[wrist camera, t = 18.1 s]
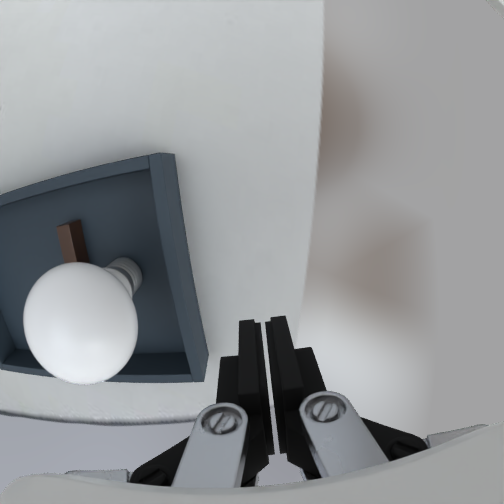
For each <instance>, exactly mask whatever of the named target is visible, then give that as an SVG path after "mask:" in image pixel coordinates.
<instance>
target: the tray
mask: <svg viewBox="0 0 504 504" xmlns="http://www.w3.org/2000/svg"><path fill="white" fill-rule="evenodd" d="M78 219H80V220H81V225H82V230H83V235H84V239H85V244H86V249H87V253H88V257H89V261H90V264H93V265H96V266H99V267H101V268H104V267H107V266H108V265H109V264H110V263H111V262H112V261H114V260H115V259H117V258H121V257H125V258H129V259H131V260H133V261H134V262H135V263H136V264H137V265H138V266H139V268H140V269H141V272H142V283H141V286H140V287H139V289H138V290H137V291H136V292H135V294H134V295H133V298H132V300H133V303H134V306H135V309H136V313H137V318H138V337H137V342H136V346H135V349H134V351H133V354H132V356H131V358H130V359H129V361H128V362H127V364H126V365H125V366H124V367H123V368H122V369H121V370H120V371H119V372H118V373H117V374H116V375H114V376H113V377H111V378H109V379H108V380H105V381H106V382H131V383H182V382H193V381H194V382H204V379H205V373H206V367H207V361H208V356H209V354H208V349H207V345H206V340H205V335H204V331H203V326H202V321H201V316H200V311H199V306H198V301H197V296H196V290H195V285H194V280H193V274H192V268H191V263H190V257H189V251H188V245H187V239H186V233H185V226H184V220H183V213H182V207H181V200H180V193H179V185H178V178H177V170H176V162H175V154H169V153H156V154H151V155H146V156H141V157H136V158H131V159H126V160H122V161H117V162H113V163H108V164H104V165H100V166H96V167H92V168H88V169H84V170H80V171H76V172H73V173H69V174H65V175H62V176H58V177H55V178H51V179H48V180H45V181H41V182H38V183H35V184H32V185H29V186H25V187H22V188H19V189H16V190H14V191H11V192H8V193H5V194H2V195H0V369H1V370H7V371H13V372H19V373H25V374H32V375H40V376H47V377H55V376H53V375H52V374H50V373H49V372H48V371H47V370H46V369H44V368H43V367H42V366H41V365H40V363H39V362H38V361H37V360H36V358H35V357H34V355H33V354H32V352H31V350H30V348H29V346H28V343H27V340H26V337H25V333H24V326H23V313H24V306H25V302H26V299H27V297H28V294H29V292H30V290H31V288H32V287H33V285H34V284H35V283H36V281H37V280H38V279H39V278H40V277H41V276H42V275H43V274H44V273H46V272H47V271H48V270H50V269H52V268H54V267H56V266H58V265H61V264H65V263H64V259H63V255H62V251H61V247H60V242H59V238H58V233H57V228H56V227H57V226H59V225H61V224H64V223H66V222H68V221H73V220H78ZM56 378H57V377H56Z"/></svg>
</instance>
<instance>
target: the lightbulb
mask: <svg viewBox="0 0 504 504" xmlns="http://www.w3.org/2000/svg"><path fill="white" fill-rule="evenodd" d="M141 283H142V272H141V269H140V268H139V266H138V265H137V264H136V263H135V262H134V261H133V260H131V259H129V258H125V257H121V258H117V259H115V260H114V261H112V262H111V263H110V264H109V265H108V266H107V267H104V268H101V267H99V266H96V265H93V264H90V263H84V262H70V263H65V264H61V265H58V266H56V267H54V268H52V269H50V270H48V271H47V272H46V273H44V274H43V275H42V276H41V277H40V278H39V279H38V280H37V281H36V283H35V284H34V285H33V287H32V288H31V290H30V292H29V294H28V297H27V299H26V302H25V306H24V313H23V326H24V333H25V337H26V340H27V343H28V346H29V348H30V350H31V352H32V354H33V355H34V357H35V358H36V360H37V361H38V362H39V363H40V365H41V366H42V367H43V368H44V369H46V370H47V371H48V372H49V373H50V374H52V375H53V376H55V377H57V378H59V379H61V380H63V381H65V382H68V383H72V384H78V385H91V384H97V383H100V382H103V381H105V380H108V379H109V378H111V377H113V376H114V375H116V374H117V373H118V372H119V371H120V370H121V369H122V368H123V367H124V366H125V365H126V364H127V362H128V361H129V359H130V358H131V356H132V354H133V351H134V349H135V346H136V342H137V337H138V318H137V313H136V309H135V306H134V303H133V300H132V298H133V295H134V294H135V292H136V291H137V290H138V289H139V287H140V286H141Z"/></svg>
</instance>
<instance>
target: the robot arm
mask: <svg viewBox="0 0 504 504" xmlns="http://www.w3.org/2000/svg"><path fill="white" fill-rule="evenodd" d="M265 326H266V335H267V345H268V354H269V364H270V374H271V383H272V392H273V400H274V408H275V416H276V424H277V432H278V440H279V448H280V454H282V453H287V460H288V461H289V462H291V463H292V464H294V465H296V466H298V467H300V472H301V475H302V478H303V480H304V481H302V482H294V483H287V484H278V485H269V486H258V481H259V472H260V471H261V470H262V469H263V468H264V467H265V466H267V465H268V464H269V458H268V455H273V454H275V452H274V443H273V434H272V424H271V414H270V405H269V395H268V386H267V377H266V368H265V359H264V350H263V341H262V333H261V324H260V323H255V322H254V319H251V320H242V321H239V353H238V356H227V357H221V359H220V368H219V378H218V388H217V398H216V404H213V405H210V406H208V407H207V408H205V409H203V410H202V411H201V412H200V413H199V415H198V416H197V418H196V421H195V423H194V426H193V429H192V432H191V434H190V436H189V437H187V438H186V439H184V440H183V441H181V442H179V443H178V444H176V445H175V446H173V447H171V448H170V449H168V450H167V451H165V452H163V453H162V454H160V455H158V456H157V457H155V458H153V459H152V460H150V461H148V462H146V463H145V464H143V465H141V466H140V467H139V468H137V469H136V470H135V471H134V472H128V470H127V469H121V470H94V471H77V470H76V471H68V472H66V473H65V474H56V473H43V474H31V475H26V476H22V477H19V478H17V479H15V480H14V481H12V482H11V483H10V484H9V485H8V486H7V487H6V488H5V489H4V491H3V492H2V493H1V495H0V504H504V422H500V423H496V424H492V425H485V424H482V425H475V426H471V427H467V428H462V429H457V430H453V431H448V432H442V433H437V434H431V435H428V436H427V438H426V439H421V438H420V437H417V436H415V435H413V434H409V433H406V432H403V431H400V430H397V429H394V428H391V427H388V426H384V425H382V424H379V423H376V422H373V421H370V420H368V419H365V418H362V417H360V416H359V415H358V413H357V412H356V410H355V409H354V407H353V406H352V404H351V403H350V402H349V400H348V399H347V398H346V397H345V396H343V395H341V394H340V393H336V392H332V391H327V390H326V387H325V385H324V382H323V379H322V376H321V373H320V370H319V367H318V364H317V361H316V359H315V355H314V353H313V350H312V348H311V347H307V348H299V349H294V346H293V343H292V339H291V335H290V331H289V327H288V323H287V320H286V316H278V317H271V321H268V322H265Z"/></svg>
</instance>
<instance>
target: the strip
mask: <svg viewBox="0 0 504 504" xmlns="http://www.w3.org/2000/svg"><path fill="white" fill-rule="evenodd" d="M56 228H57V233H58V238H59V242H60V247H61V251H62V255H63V259H64V263H70V262H84V263H90V261H89V257H88V253H87V249H86V244H85V239H84V235H83V230H82V225H81V220H80V219H78V220H73V221H68V222H66V223H64V224H61V225H59V226H57V227H56Z"/></svg>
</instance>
